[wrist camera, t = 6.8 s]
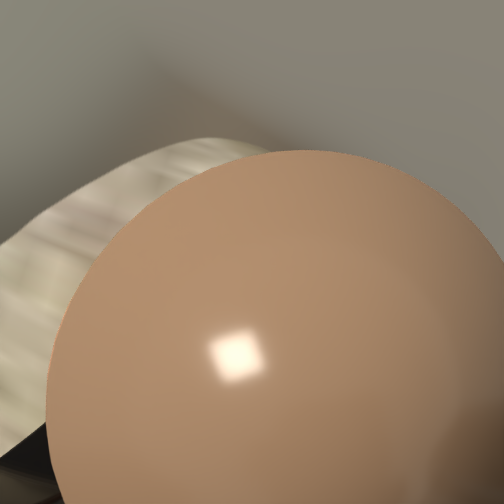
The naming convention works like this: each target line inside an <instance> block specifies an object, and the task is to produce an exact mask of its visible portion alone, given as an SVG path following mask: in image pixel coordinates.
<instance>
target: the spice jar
mask: <svg viewBox="0 0 504 504" xmlns="http://www.w3.org/2000/svg"><path fill="white" fill-rule="evenodd" d="M46 429H47V437H48V444H49V451H50V458H51V463H52V467H53V470H54V473H55V477H56V480H57V483H58V486H59V489H60V492H61V495H62V497H63V500H64V503H65V504H504V263H503V261H502V260H501V258H500V257H499V255H498V254H497V252H496V251H495V249H494V248H493V246H492V245H491V244H490V242H489V241H488V240H487V238H486V237H485V236H484V235H483V233H482V232H481V231H480V230H479V229H478V227H477V226H476V225H475V224H474V223H473V222H472V221H471V220H470V219H469V218H468V217H467V216H466V215H465V214H464V213H463V212H462V211H461V210H460V209H459V208H458V207H456V206H455V205H454V204H453V203H451V202H450V201H449V200H448V199H446V198H445V197H444V196H443V195H441V194H440V193H439V192H437V191H436V190H434V189H433V188H431V187H429V186H428V185H426V184H425V183H423V182H421V181H420V180H418V179H416V178H414V177H412V176H410V175H408V174H406V173H404V172H402V171H400V170H398V169H395V168H393V167H391V166H388V165H385V164H382V163H379V162H376V161H373V160H370V159H367V158H363V157H359V156H354V155H349V154H344V153H338V152H328V151H315V150H296V151H278V152H271V153H265V154H260V155H255V156H250V157H245V158H241V159H238V160H235V161H232V162H229V163H226V164H223V165H220V166H217V167H214V168H211V169H209V170H207V171H205V172H203V173H201V174H199V175H196V176H194V177H192V178H190V179H188V180H186V181H184V182H182V183H180V184H178V185H177V186H175V187H174V188H172V189H171V190H169V191H168V192H166V193H165V194H164V195H162V196H161V197H159V198H158V199H156V200H155V201H153V202H152V203H150V204H149V205H148V206H146V207H145V208H144V209H143V210H142V211H141V212H140V213H139V214H137V215H136V216H135V217H134V218H133V219H132V220H131V221H130V222H129V223H128V224H126V225H125V226H124V227H123V228H122V229H121V230H120V231H119V232H118V233H117V234H116V235H115V237H114V238H113V239H112V240H111V241H110V243H109V244H108V245H107V246H106V248H105V249H104V250H103V251H102V253H101V254H100V255H99V256H98V257H97V259H96V260H95V261H94V263H93V264H92V265H91V267H90V269H89V270H88V272H87V273H86V275H85V277H84V278H83V280H82V282H81V283H80V285H79V287H78V289H77V290H76V292H75V294H74V296H73V297H72V299H71V301H70V303H69V305H68V307H67V309H66V312H65V314H64V317H63V319H62V322H61V325H60V327H59V330H58V332H57V335H56V338H55V342H54V346H53V350H52V355H51V360H50V364H49V369H48V375H47V391H46Z"/></svg>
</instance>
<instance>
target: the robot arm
mask: <svg viewBox="0 0 504 504" xmlns="http://www.w3.org/2000/svg"><path fill="white" fill-rule="evenodd" d="M0 504H65V503H64V500H63V497H62V495H61V492H60V489H59V486H58V483H57V480H56V477H55V473H54V470H53V467H52V463H51V458H50V451H49V444H48V437H47V429H46V422H45V423H44V424H43V425H41V426H40V427H39V428H38V429H37V430H35V431H34V432H33V433H32V434H30V435H29V436H28V437H27V438H25V439H24V440H23V441H21V442H20V443H19V444H17V445H16V446H15V447H13V448H12V449H11V450H10V451H8V452H7V453H6V454H4V455H3V456H2V457H0Z"/></svg>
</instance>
